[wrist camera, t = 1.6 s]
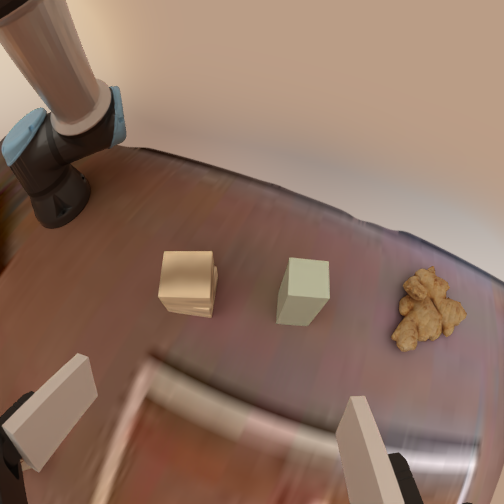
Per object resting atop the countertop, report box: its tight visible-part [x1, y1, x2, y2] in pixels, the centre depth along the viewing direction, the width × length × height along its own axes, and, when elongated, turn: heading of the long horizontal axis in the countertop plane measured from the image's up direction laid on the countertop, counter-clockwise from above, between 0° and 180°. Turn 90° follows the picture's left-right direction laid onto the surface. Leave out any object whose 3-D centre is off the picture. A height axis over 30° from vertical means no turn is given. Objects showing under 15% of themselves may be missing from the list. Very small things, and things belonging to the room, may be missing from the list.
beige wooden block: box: [163, 267, 218, 318], centre depth 43 cm, size 7×7×4 cm
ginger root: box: [391, 266, 467, 352], centre depth 41 cm, size 16×16×8 cm
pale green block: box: [276, 258, 330, 326], centre depth 39 cm, size 5×5×12 cm
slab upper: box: [158, 251, 214, 308], centre depth 40 cm, size 7×7×4 cm
